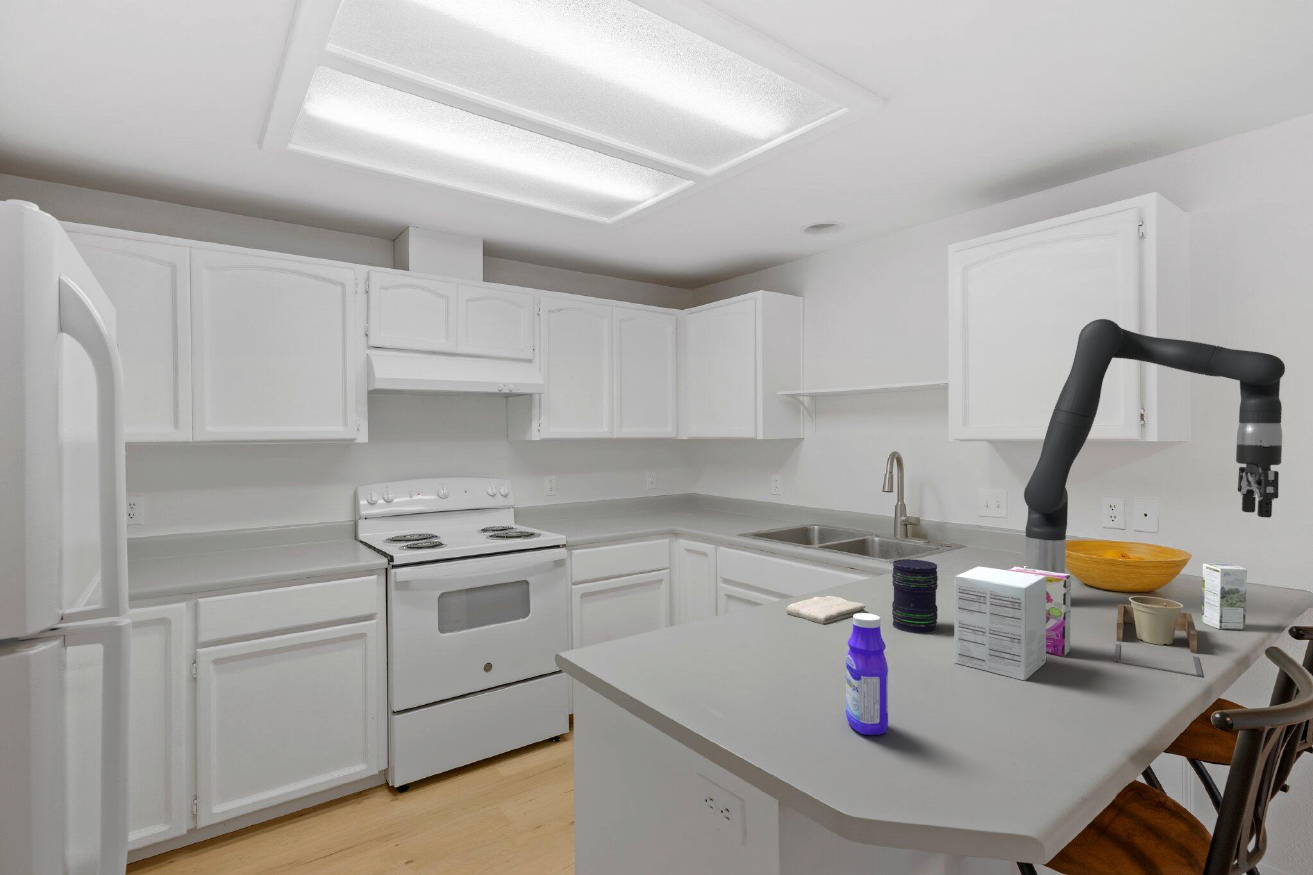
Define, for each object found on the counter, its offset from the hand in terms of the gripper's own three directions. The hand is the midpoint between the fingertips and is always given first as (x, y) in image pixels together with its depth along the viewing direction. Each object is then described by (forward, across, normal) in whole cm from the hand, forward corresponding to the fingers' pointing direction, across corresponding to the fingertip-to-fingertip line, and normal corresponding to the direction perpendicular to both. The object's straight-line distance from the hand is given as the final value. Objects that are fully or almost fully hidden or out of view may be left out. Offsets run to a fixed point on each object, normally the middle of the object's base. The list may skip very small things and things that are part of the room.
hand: (1256, 514), depth 147 cm
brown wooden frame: (+27, +13, -21) cm, 37 cm away
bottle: (+28, +85, -74) cm, 116 cm away
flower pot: (+27, +17, -22) cm, 39 cm away
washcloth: (+29, +24, -91) cm, 98 cm away
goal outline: (+27, +30, -25) cm, 48 cm away
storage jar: (+28, +28, -70) cm, 81 cm away
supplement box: (+28, +46, -54) cm, 76 cm away
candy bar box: (+28, +33, -46) cm, 63 cm away
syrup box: (+27, -2, -4) cm, 28 cm away
